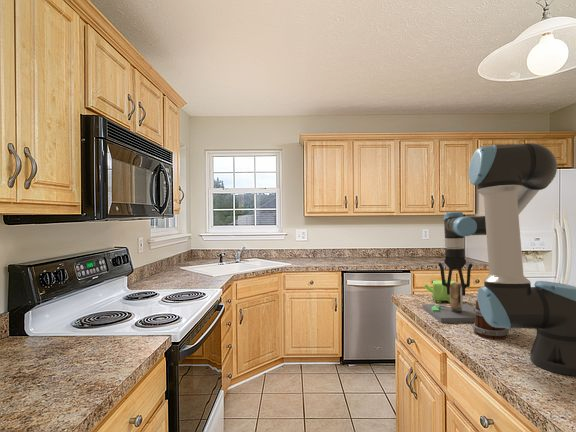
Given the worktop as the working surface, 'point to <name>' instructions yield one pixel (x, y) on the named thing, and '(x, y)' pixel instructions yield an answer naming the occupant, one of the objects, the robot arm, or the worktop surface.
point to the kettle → (439, 291)
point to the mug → (487, 327)
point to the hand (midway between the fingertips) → (456, 302)
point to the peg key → (454, 298)
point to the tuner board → (451, 313)
